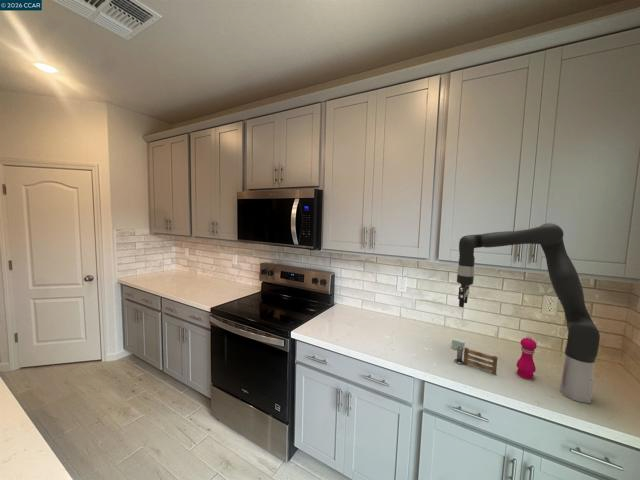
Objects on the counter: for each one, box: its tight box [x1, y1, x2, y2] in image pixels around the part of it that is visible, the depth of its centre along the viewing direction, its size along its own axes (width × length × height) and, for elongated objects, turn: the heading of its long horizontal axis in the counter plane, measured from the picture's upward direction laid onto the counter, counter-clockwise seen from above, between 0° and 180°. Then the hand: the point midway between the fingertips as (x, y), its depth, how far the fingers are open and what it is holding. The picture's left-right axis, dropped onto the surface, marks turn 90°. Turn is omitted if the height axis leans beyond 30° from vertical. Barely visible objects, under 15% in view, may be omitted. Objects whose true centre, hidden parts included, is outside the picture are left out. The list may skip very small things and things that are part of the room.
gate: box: [462, 346, 499, 375], centre depth 134 cm, size 14×2×8 cm, turn 52°
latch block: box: [451, 337, 466, 352], centre depth 153 cm, size 6×3×5 cm, turn 52°
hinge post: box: [454, 346, 465, 366], centre depth 139 cm, size 4×4×8 cm
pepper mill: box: [516, 334, 537, 380], centre depth 128 cm, size 7×7×20 cm
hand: (463, 304), depth 140 cm, fingers open, 8 cm apart
